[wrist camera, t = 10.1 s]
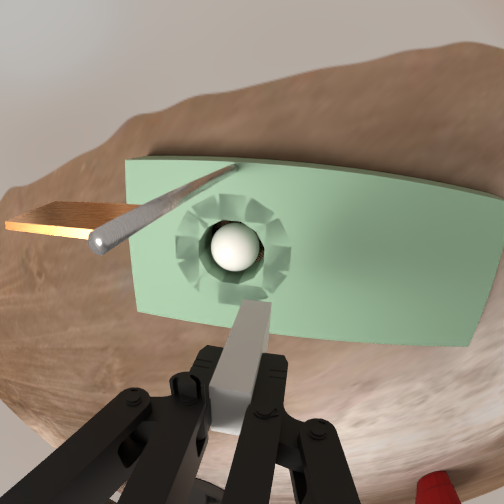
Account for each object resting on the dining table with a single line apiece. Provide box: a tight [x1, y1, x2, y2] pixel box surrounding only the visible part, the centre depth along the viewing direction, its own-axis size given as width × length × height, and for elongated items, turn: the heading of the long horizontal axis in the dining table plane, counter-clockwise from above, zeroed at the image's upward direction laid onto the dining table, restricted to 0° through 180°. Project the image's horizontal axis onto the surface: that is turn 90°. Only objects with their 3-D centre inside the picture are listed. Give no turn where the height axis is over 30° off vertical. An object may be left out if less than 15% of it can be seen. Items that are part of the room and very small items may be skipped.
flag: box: [5, 164, 238, 255], centre depth 15 cm, size 5×1×16 cm, turn 87°
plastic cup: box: [415, 471, 461, 504], centre depth 33 cm, size 11×11×12 cm
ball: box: [211, 223, 259, 271], centre depth 26 cm, size 4×4×4 cm
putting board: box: [125, 156, 504, 346], centre depth 26 cm, size 32×14×4 cm, turn 87°
